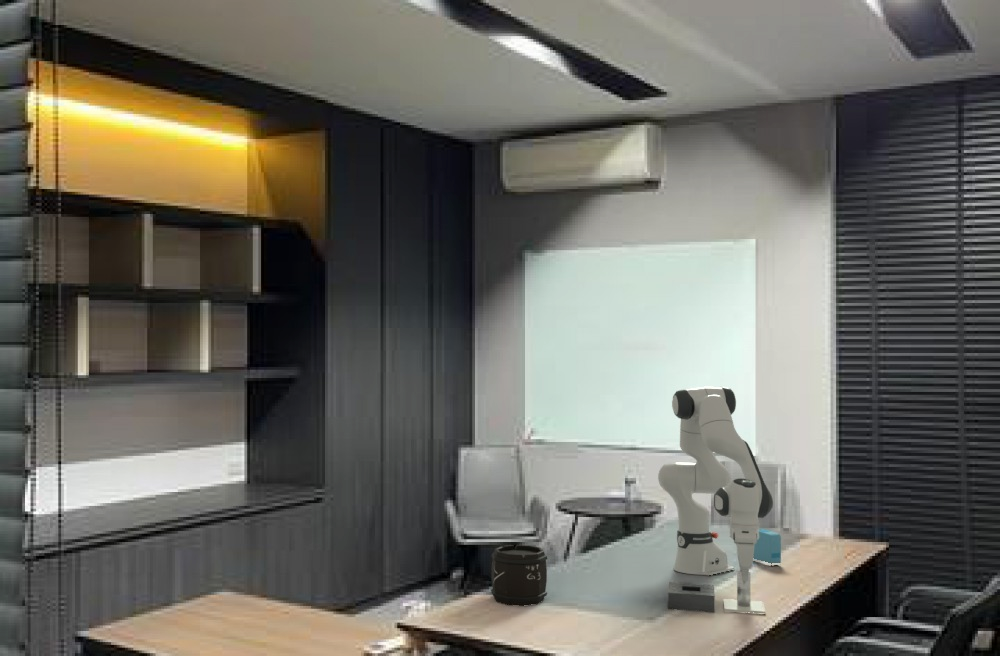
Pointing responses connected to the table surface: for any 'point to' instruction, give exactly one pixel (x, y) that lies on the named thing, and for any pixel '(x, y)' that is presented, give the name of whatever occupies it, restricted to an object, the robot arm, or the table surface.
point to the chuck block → (691, 597)
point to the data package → (768, 547)
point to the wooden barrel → (519, 575)
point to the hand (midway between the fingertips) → (744, 577)
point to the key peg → (743, 590)
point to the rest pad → (732, 606)
